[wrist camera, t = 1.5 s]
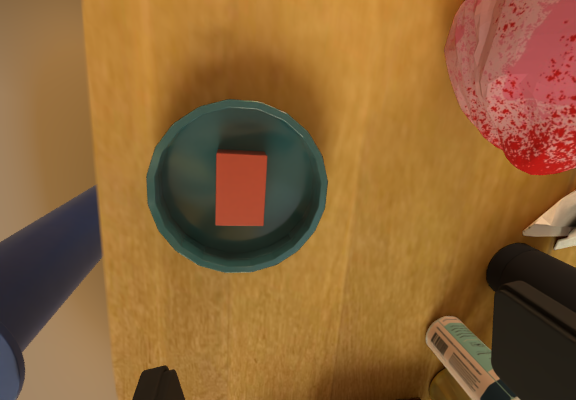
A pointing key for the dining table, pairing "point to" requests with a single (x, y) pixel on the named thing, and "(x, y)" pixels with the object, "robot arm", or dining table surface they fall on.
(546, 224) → the cloth
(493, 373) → the beer can
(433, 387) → the vase
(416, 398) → the holder
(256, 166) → the red rectangular prism
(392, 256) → the dining table surface
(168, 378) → the robot arm
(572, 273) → the black bottle
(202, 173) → the bowl
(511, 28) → the decorative rock
